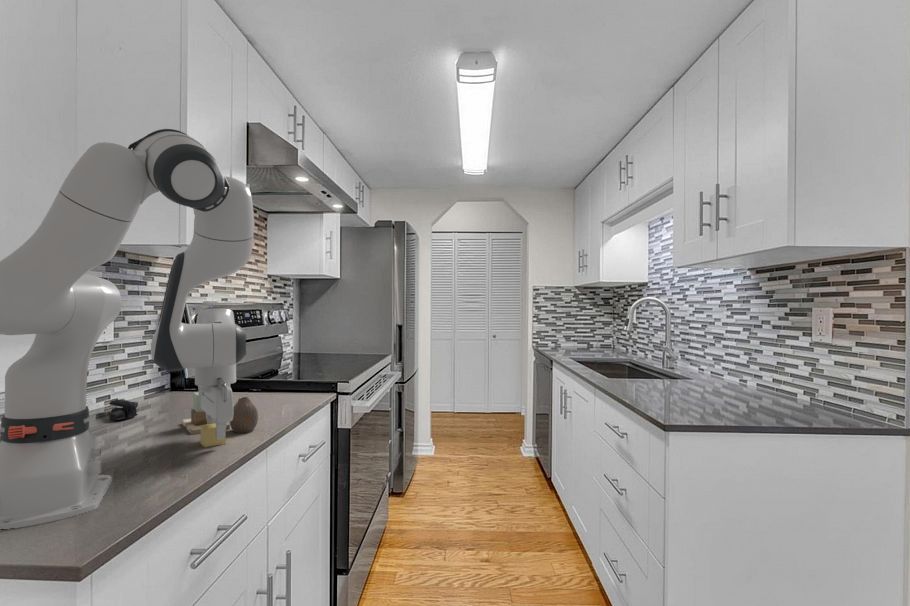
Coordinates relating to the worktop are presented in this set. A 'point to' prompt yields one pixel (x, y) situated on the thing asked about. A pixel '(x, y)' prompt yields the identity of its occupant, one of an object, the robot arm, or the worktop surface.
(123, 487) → the worktop surface
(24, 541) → the worktop surface
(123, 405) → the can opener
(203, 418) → the walnut brick
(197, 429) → the board
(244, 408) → the vase
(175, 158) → the robot arm
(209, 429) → the ochre brick
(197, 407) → the sage brick
